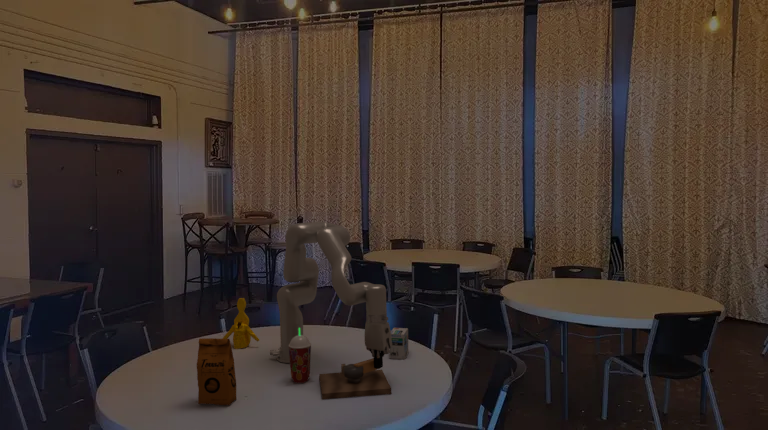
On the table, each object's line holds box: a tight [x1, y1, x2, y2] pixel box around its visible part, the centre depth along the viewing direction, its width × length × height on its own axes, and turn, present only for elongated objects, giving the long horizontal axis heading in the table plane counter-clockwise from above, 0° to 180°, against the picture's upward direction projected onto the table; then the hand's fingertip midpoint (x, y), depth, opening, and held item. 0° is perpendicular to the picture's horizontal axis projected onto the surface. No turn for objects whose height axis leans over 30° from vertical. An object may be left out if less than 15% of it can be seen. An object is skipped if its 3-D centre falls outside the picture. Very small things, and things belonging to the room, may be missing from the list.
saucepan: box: [344, 357, 381, 379], centre depth 201 cm, size 16×7×4 cm, turn 133°
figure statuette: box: [221, 297, 260, 350], centre depth 250 cm, size 18×8×22 cm, turn 89°
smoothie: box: [288, 328, 312, 384], centre depth 205 cm, size 8×8×20 cm
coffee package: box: [196, 337, 237, 406], centre depth 185 cm, size 10×12×22 cm
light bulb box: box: [389, 327, 409, 360], centre depth 234 cm, size 11×7×11 cm, turn 168°
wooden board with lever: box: [318, 363, 392, 400], centre depth 199 cm, size 24×21×5 cm
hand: (378, 367), depth 202 cm, fingers closed
